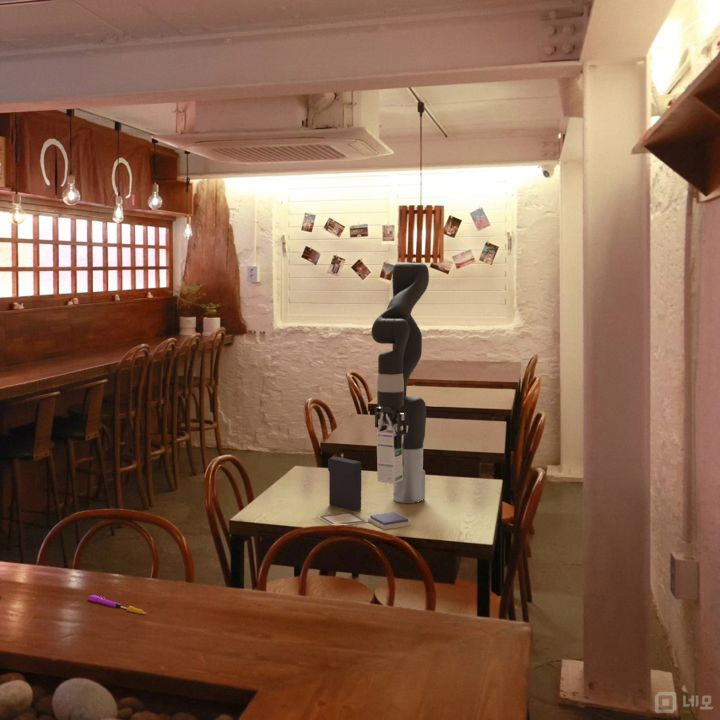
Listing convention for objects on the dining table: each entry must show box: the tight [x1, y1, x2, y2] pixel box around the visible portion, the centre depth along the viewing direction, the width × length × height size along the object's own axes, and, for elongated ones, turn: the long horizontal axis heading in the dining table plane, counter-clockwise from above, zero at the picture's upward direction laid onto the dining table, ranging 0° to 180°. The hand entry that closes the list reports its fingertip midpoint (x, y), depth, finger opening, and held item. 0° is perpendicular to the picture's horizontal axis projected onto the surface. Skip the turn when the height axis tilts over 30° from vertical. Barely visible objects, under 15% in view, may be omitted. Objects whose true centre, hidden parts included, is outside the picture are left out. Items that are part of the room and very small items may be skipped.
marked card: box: [318, 511, 368, 525], centre depth 229 cm, size 11×11×1 cm
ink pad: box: [367, 511, 412, 530], centre depth 226 cm, size 9×9×2 cm
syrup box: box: [376, 428, 404, 485], centre depth 225 cm, size 6×6×14 cm
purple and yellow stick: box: [87, 594, 147, 615], centre depth 166 cm, size 3×1×16 cm
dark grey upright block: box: [327, 456, 362, 513], centre depth 241 cm, size 11×4×15 cm, turn 47°
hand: (390, 446), depth 224 cm, fingers closed on syrup box, 7 cm apart
